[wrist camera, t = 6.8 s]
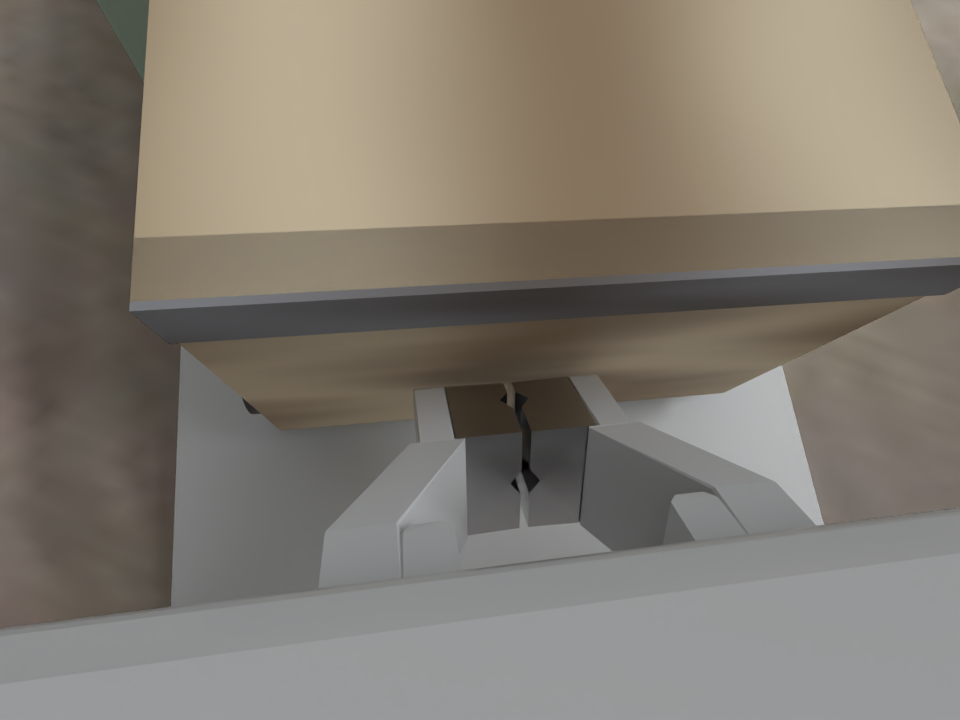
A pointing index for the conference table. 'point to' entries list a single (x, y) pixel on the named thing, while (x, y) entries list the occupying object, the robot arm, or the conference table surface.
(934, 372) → the conference table surface
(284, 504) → the dock
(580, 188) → the wooden cart
